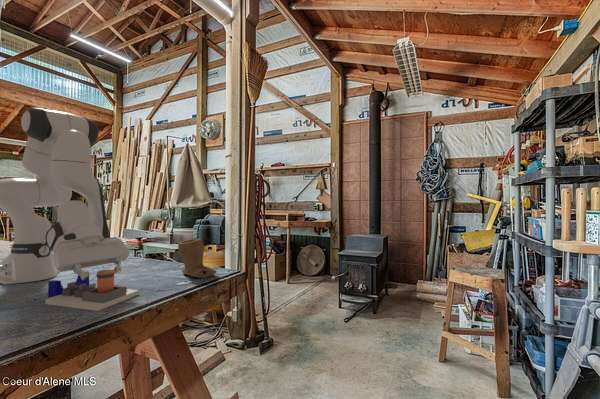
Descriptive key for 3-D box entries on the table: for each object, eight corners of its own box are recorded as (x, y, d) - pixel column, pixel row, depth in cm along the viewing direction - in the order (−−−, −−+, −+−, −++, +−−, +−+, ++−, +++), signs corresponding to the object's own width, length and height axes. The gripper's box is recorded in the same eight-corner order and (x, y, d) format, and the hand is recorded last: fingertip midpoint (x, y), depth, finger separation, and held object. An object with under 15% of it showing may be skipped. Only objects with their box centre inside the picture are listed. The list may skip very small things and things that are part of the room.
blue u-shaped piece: (78, 288, 109) (78, 271, 108) (89, 289, 108) (89, 272, 108) (44, 300, 97) (44, 281, 97) (56, 301, 96) (56, 282, 96)
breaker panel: (45, 304, 93) (45, 287, 93) (91, 289, 107) (91, 275, 107) (97, 311, 87) (97, 293, 87) (138, 294, 102) (138, 279, 102)
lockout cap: (93, 298, 94) (93, 271, 94) (109, 294, 98) (109, 268, 98) (101, 300, 91) (101, 273, 91) (117, 296, 95) (117, 270, 95)
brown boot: (173, 274, 129) (173, 238, 128) (201, 269, 137) (201, 235, 136) (188, 281, 117) (188, 242, 117) (217, 276, 125) (217, 239, 125)
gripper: (116, 242, 109) (132, 274, 105) (45, 251, 92) (61, 289, 87) (123, 230, 107) (140, 262, 102) (52, 237, 89) (68, 275, 85)
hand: (103, 274), depth 94 cm, fingers open, 8 cm apart
